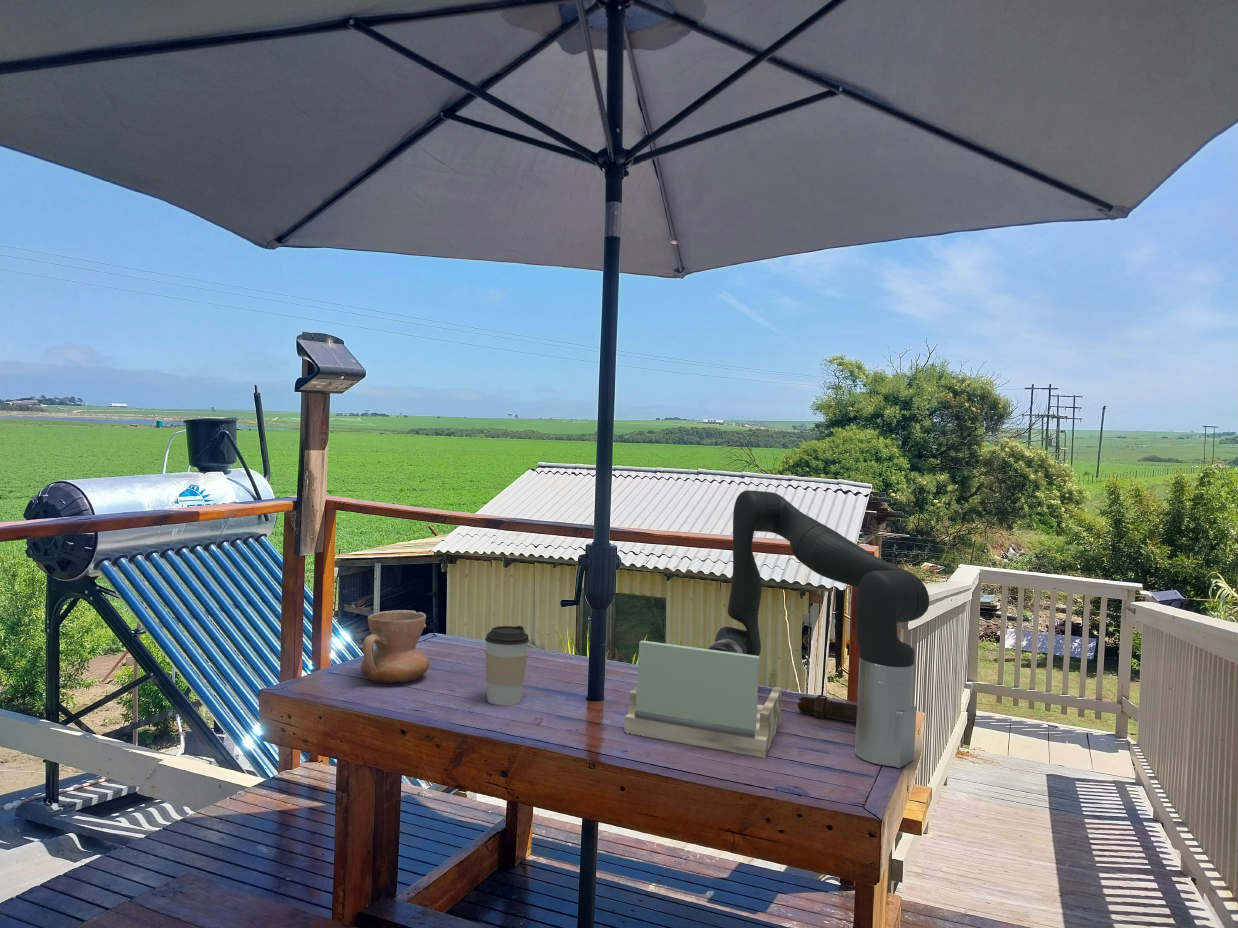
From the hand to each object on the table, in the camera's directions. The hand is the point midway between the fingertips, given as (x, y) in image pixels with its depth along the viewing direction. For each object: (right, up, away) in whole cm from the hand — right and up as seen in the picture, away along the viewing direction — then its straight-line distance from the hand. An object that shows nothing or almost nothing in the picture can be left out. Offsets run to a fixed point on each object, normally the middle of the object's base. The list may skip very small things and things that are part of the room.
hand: (703, 679), depth 140 cm
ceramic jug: (-66, -7, +24) cm, 70 cm away
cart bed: (+1, -10, +3) cm, 10 cm away
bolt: (+28, -12, +12) cm, 33 cm away
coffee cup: (-40, -8, +13) cm, 43 cm away
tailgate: (-3, -7, -6) cm, 10 cm away
